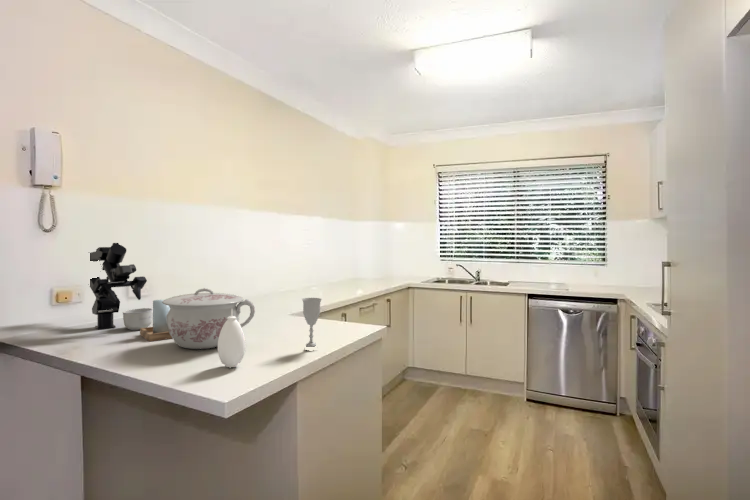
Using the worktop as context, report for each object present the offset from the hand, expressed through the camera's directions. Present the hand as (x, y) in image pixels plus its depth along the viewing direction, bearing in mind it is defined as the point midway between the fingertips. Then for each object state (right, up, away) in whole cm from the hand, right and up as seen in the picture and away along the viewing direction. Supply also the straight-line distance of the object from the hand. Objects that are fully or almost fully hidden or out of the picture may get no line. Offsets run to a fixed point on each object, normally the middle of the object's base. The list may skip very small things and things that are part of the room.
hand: (128, 300), depth 166 cm
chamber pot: (+36, -15, -14) cm, 41 cm away
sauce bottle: (+54, -16, -39) cm, 69 cm away
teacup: (-2, -13, +12) cm, 18 cm away
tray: (+14, -14, -1) cm, 20 cm away
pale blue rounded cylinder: (+14, -13, -1) cm, 19 cm away
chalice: (+75, -16, -17) cm, 79 cm away
